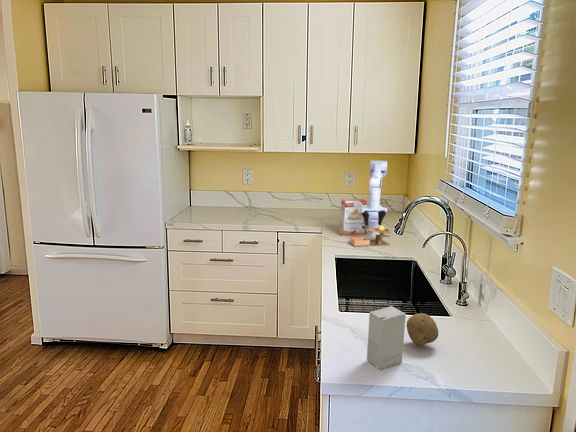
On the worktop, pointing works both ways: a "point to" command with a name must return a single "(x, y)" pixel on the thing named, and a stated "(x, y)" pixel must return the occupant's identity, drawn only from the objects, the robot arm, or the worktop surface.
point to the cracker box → (352, 217)
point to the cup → (359, 241)
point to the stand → (377, 241)
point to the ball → (381, 228)
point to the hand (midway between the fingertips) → (373, 225)
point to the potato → (422, 329)
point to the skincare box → (386, 337)
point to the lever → (376, 232)
